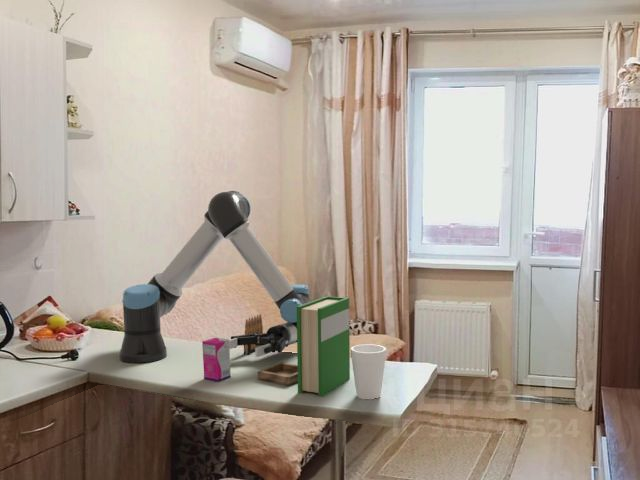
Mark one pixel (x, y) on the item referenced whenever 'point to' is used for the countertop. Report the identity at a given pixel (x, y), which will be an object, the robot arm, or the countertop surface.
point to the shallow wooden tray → (280, 374)
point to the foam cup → (368, 369)
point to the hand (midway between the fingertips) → (238, 349)
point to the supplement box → (216, 359)
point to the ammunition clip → (251, 328)
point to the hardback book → (323, 344)
